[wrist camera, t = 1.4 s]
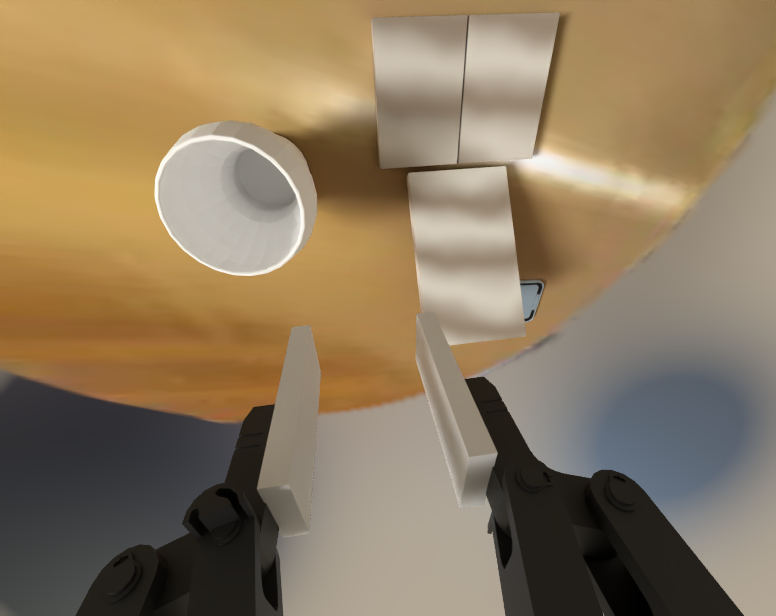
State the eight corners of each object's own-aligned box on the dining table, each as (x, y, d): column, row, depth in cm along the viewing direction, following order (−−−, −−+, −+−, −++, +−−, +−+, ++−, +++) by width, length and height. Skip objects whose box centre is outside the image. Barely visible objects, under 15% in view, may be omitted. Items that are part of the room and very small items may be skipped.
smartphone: (445, 284, 44) (545, 280, 45) (443, 281, 45) (542, 277, 46) (439, 326, 48) (532, 322, 49) (438, 323, 49) (529, 318, 50)
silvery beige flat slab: (406, 177, 35) (408, 171, 34) (499, 171, 36) (505, 164, 35) (425, 346, 35) (427, 347, 33) (518, 335, 36) (526, 336, 34)
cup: (339, 151, 33) (338, 179, 21) (302, 237, 38) (284, 302, 25) (235, 92, 29) (158, 82, 17) (208, 195, 34) (132, 248, 21)
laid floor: (371, 22, 28) (372, 17, 27) (550, 16, 29) (560, 12, 28) (378, 166, 35) (380, 169, 33) (524, 156, 36) (531, 158, 35)
